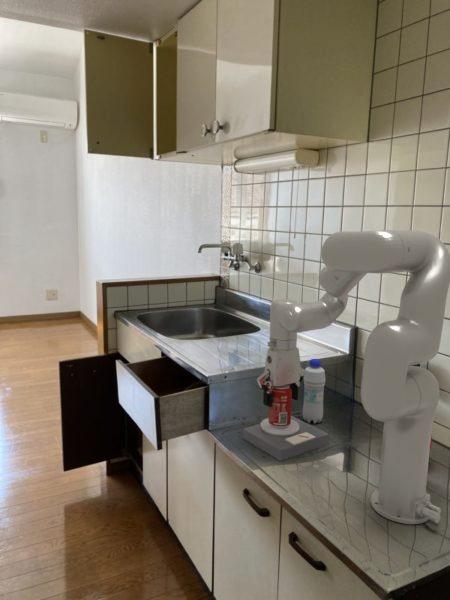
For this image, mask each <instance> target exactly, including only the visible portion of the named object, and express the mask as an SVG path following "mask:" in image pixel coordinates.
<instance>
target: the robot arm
mask: <svg viewBox="0 0 450 600" xmlns="http://www.w3.org/2000/svg"><path fill="white" fill-rule="evenodd" d="M320 251H321V253H320V254H321V260H322V262H323V263H324V267H323V268H322V269H321V270H320V271H319V273H318V277H317V278H318V282H319V285H320V286H321V288H322V290H324V292H325V293H324V294H323V295H322V296H321V298H320V299H318V300H317V301H309V302H302V303H301V302H300V303H298V301H296V300H294V299H289V298H278V299H274V300H272V301H271V303H270V311H269V312H270V315H269V316H270V317H269V318H270V319H269V341H267V343H266V344H267V347H268V348H267V351H266V356H265V363H264V364H265V365H264V372H263V373H261V374H260V375H259V376H258V377H257V378H256V381H257V384H258V388H260V389H261V391H262V392H263V397H262V398H263V400H262V401H263V402H262V403H263V405H265V406H267V407H268V408H269V407H272V404H273V393H271V392H272V390H273V388H274V387H275V386H276V387H280V386H284V385H288V384H289V385H290V388H291V390H292V400H295V401H298V400H299V387H300V386H301V382H302V381H303V380H304V374H305V369H306V368H303V367H302V366H301V355H300V349H299V347H297V346H298V345H297V343H298V342H297V341H298V340H297V338H298V333H304V332H305V333H306V332H309V331H315V330H322V329H325V328H328V327H329V326H330V325H332V324H333V323H334V322H335V321H336V320H338V318H339V317H340V316H341V315H342V314H343V312H344V311H345V310H346V309H347V305H348V300H349V293H351V291H352V290H353V289H354V288H355V287H356V286H357V285H358V284H359V283H360V281H362V280H363V278H364V277H365V276H366V275H367V274H392V273H394V274H395V273H406V272H408V273H409V278H408V280H407V281H406V283H405V284H404V287H403V289H402V292H401V295H400V301H399V302H400V303H399V309H398V314H397V317H396V318H395V319H393V320H386V321H384V322H381V323H379V324H377V325H376V326H375V327H374V328H372V330H371V331H370V333H369V335H368V337H367V339H366V344H365V349H364V357H363V365H362V375H361V383H360V399H361V404H362V407H363V409H364V411H365V412H366V413H367V415H368V417H371V418H372V419H373V420H375V421H378V422H382V423H383V424H384V425H383V430H382V441H381V452H380V453H381V454H380V455H381V456H380V467H379V469H380V470H379V482H378V483H379V484H378V488H377V489H375V490H374V491H373V492H372V493H371V495H370V504H371V507H372V509H373V510H374V511H375V512H377V514H378V515H381V516H382V517H383V518H386V519H387V520H390V521H392V522H395V523H398V524H404V525H418V524H419V525H420V524H423V523H425V522H426V523H427V521H429V520H430V521H432V522H434V523H436V524H438V523H439V522H440V521H441V516H442V515H441V513H442V508H441V507H439V506H437V505H434V504H433V503H432V502H431V494H430V493H427V481H428V473H429V472H428V471H429V458H430V451H431V449H430V442H431V437H432V431H433V424H434V421H435V420H434V419H435V417H436V411H437V408H438V406H439V400H440V386H439V383H438V382H439V381H438V380H437V378H436V377H435V375H434V374H433V373H432V372H431V371H430V370H428V369H427V368H425V367H422V366H418V365H419V364H424V363H427V362H429V361H432V360H433V359H434V358H436V357H437V355H438V353H439V350H440V346H441V340H442V334H443V326H444V320H445V312H446V305H447V298H448V294H449V293H448V292H449V288H450V251H449V249H448V248H447V246H446V245H445V243H443V242H442V240H441V239H439V238H438V237H436V236H434V234H431V233H428V232H426V231H421V230H410V229H406V230H405V229H402V230H401V229H400V230H397V229H396V230H389V229H388V230H366V231H365V230H364V231H363V230H362V231H355V230H354V231H346V230H345V231H336V232H334V233H332V234H330V235H329V236H328V237H327V238H326V239H325V240H324V242H323V245H322V247H321V250H320Z"/></svg>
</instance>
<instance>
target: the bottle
mask: <svg viewBox="0 0 450 600" xmlns="http://www.w3.org/2000/svg"><path fill="white" fill-rule="evenodd" d="M321 364H322V362H321V360H320V359H318V358H311V359H310V360H309V366H308V367H305V368H304V369H305V373H304V376H303V384H304V385H303V386H304V390H303V391H304V393H303V406H302V417H303V420H304V422H307V423H308V424H311V422H312V421H313V422H312V423H313V424H317V423H321V422H322V419H323V417H324V391H325V390H324V389H325V385H326V373H325V371H326V370H325V369H324V368H323V367H321Z"/></svg>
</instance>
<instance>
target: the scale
mask: <svg viewBox="0 0 450 600" xmlns="http://www.w3.org/2000/svg"><path fill="white" fill-rule="evenodd" d="M242 429H243V432H242V439H243V440H245V441H247V442H248V443H250V444H251V445H253V446H255V447H256V448H258V449H260V450H261V451H262V452H264V453H266V454H268V455H269V454H270V455H269V456H271V457H273V458H274V457H275V458H274V459H276V460H278V461H279V460H280V462H283V461H285V459H286V460H289V459H291V458H294V457H296V456H299V455H302V454H305V453H307V452H311V451H314V450H315V449H318V448H321V447H324V446H327V445H329V442H330V441H329V440H330V433H328V432H326V431H324V430H322V429H320V428H318V427H316V426H313V425H312V424H311V423H308V422H306V421H303V420H301V419H299V418H297V417H295V416H293V415H291V423H290V425H288V427H287V428H284V429H278V428H274V427H272V426H271V424H270V423H269V417H267V418H264V419H263V420H261V422H260V423H258V424H254V425H251V426H247V427H243V428H242ZM288 458H289V459H288ZM282 460H283V461H282Z"/></svg>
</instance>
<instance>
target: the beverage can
mask: <svg viewBox="0 0 450 600" xmlns="http://www.w3.org/2000/svg"><path fill="white" fill-rule="evenodd" d="M271 393H273V404H272V407H268V418H269V423H270V424H271V426H272V427H274V428H278V429H284V428H287V427H288V425H290V423H291V416H292V403H293V401H292V400H293V399H292V390H291V388H290V385H289V384H288V385H284V386H280V387H276V386H275V387H274V388H273V390H272V392H271Z"/></svg>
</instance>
